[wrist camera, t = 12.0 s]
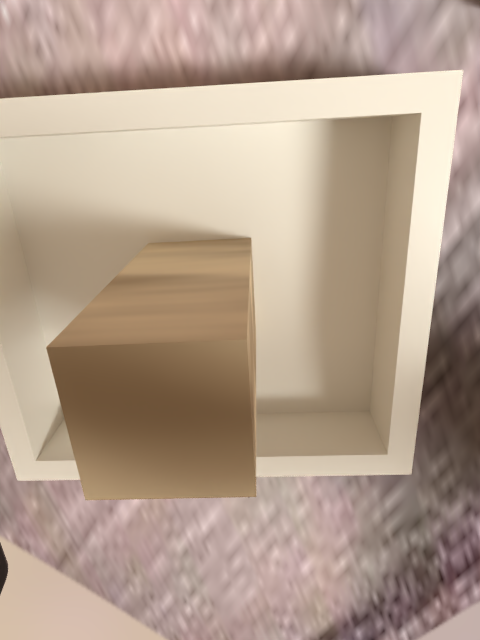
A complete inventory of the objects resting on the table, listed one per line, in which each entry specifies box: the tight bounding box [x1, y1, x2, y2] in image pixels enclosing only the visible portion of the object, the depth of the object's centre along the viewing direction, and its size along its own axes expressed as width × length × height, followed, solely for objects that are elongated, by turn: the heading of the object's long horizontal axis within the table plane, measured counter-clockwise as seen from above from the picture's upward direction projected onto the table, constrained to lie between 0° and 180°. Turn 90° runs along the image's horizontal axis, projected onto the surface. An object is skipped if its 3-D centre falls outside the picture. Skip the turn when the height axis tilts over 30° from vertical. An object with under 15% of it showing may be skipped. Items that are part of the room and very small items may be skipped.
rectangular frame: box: [0, 70, 463, 481], centre depth 17 cm, size 16×14×4 cm
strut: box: [46, 238, 256, 500], centre depth 14 cm, size 4×4×9 cm
